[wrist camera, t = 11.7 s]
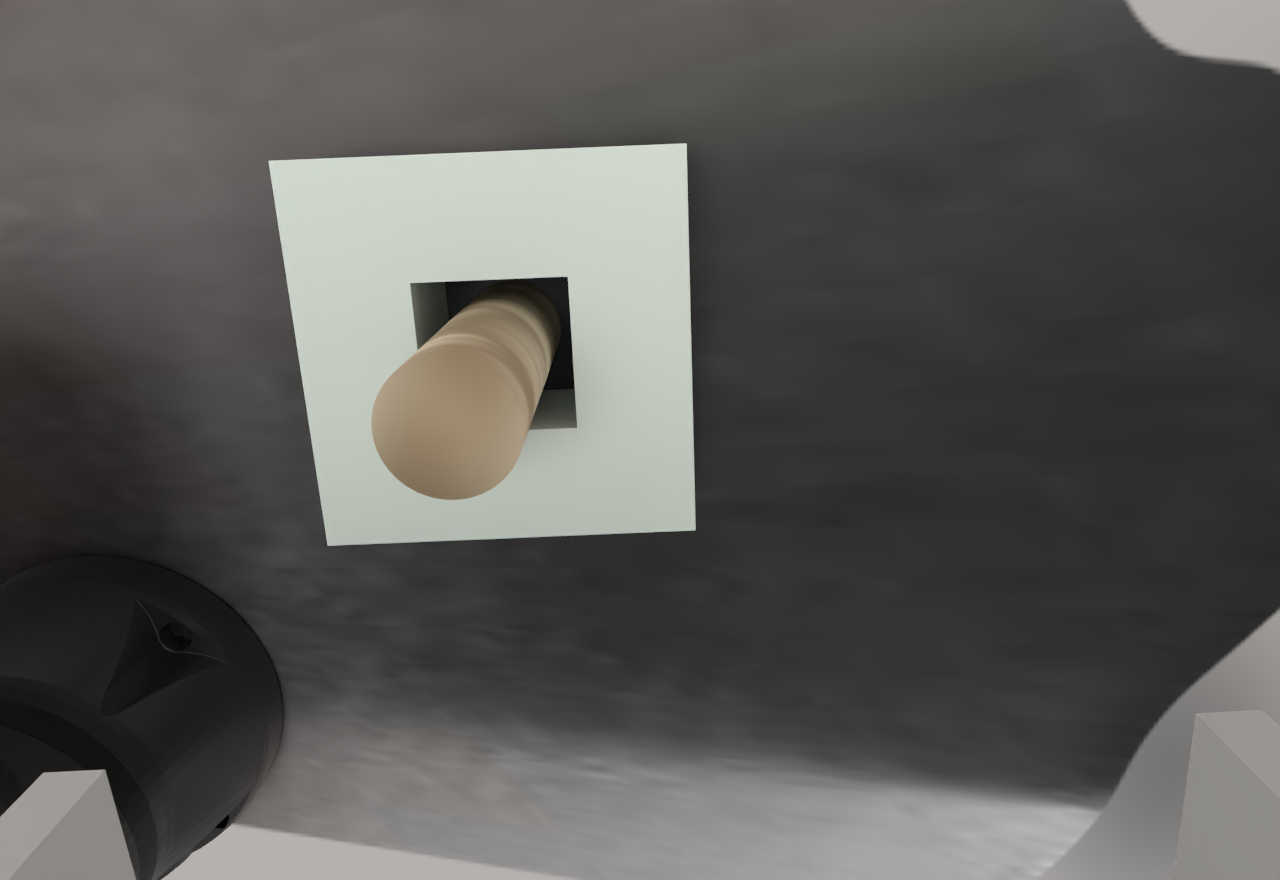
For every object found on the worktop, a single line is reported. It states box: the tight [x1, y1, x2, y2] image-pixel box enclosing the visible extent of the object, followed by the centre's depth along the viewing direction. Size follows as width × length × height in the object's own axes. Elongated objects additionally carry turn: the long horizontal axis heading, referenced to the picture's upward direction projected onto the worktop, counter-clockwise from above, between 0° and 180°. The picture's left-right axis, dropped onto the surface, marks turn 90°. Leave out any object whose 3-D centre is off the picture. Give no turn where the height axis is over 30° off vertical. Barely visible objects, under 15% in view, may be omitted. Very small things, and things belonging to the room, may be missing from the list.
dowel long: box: [371, 280, 561, 500], centre depth 31 cm, size 4×4×15 cm
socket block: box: [269, 143, 696, 546], centre depth 35 cm, size 14×14×6 cm
